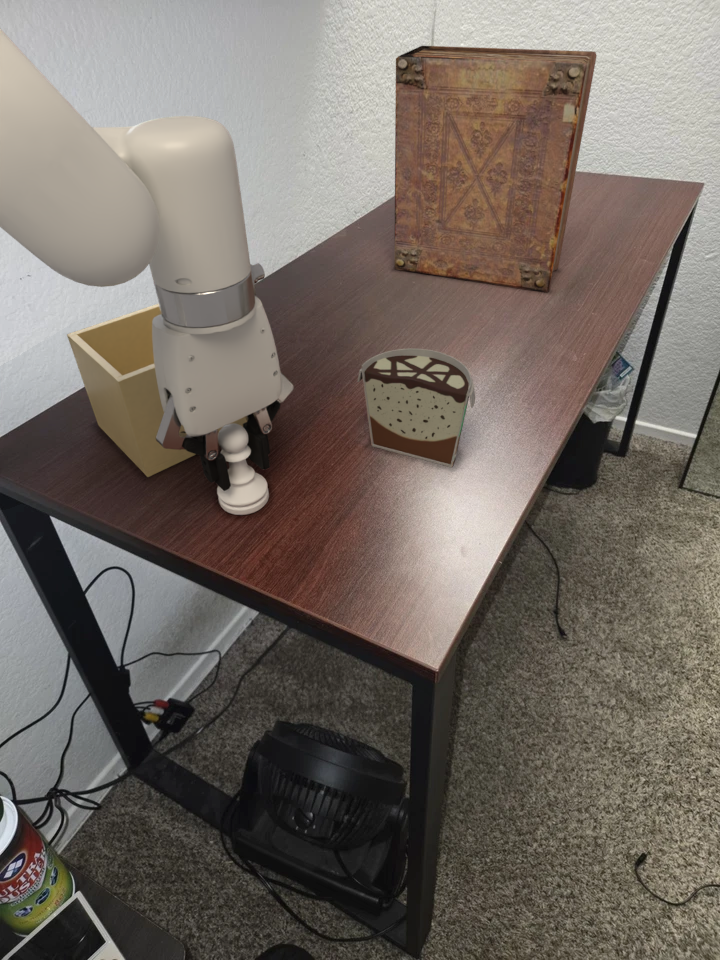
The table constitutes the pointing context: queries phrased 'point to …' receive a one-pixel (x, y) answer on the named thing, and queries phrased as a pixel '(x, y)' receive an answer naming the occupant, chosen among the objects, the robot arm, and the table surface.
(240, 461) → the chess pawn
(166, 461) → the light wooden open box
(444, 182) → the book
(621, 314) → the table surface
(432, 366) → the food container
